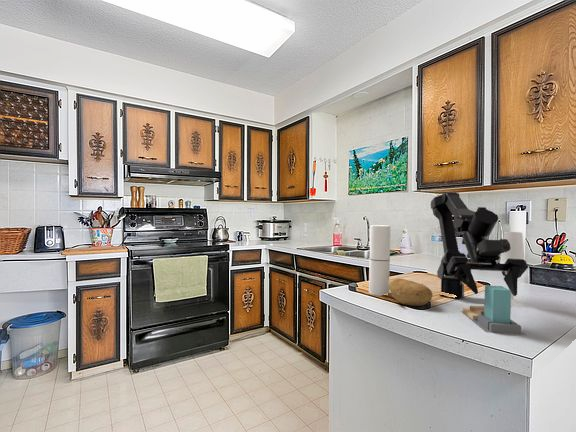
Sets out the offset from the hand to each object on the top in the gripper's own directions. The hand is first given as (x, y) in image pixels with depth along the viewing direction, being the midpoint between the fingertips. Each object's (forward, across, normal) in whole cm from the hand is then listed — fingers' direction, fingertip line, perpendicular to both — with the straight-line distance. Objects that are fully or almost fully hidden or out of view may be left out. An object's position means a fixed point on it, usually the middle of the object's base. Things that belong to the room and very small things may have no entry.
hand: (496, 294), depth 79 cm
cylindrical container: (-14, -25, +27) cm, 40 cm away
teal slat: (+6, 0, +5) cm, 8 cm away
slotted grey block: (+5, 0, +8) cm, 10 cm away
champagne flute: (-11, +16, +24) cm, 31 cm away
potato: (-5, -17, +18) cm, 26 cm away
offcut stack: (+1, 0, +11) cm, 11 cm away
